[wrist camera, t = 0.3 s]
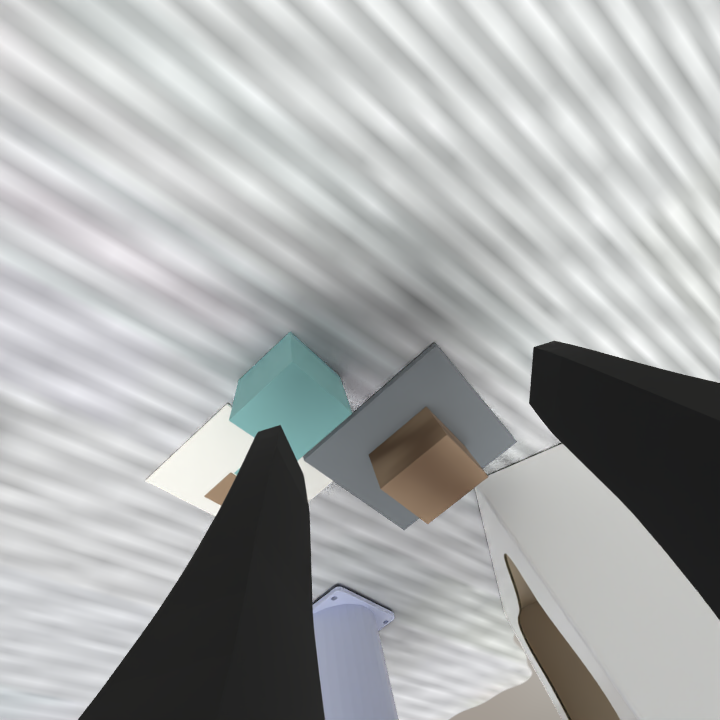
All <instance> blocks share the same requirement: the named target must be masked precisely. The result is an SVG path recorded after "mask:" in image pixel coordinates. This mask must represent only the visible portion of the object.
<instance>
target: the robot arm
mask: <svg viewBox="0 0 720 720" xmlns="http://www.w3.org/2000/svg"><path fill="white" fill-rule="evenodd" d="M529 404H530V405H531V406H532V408H533V409H534V410H535V412H536V413H537V414H538V416H539V417H540V419H541V420H542V421H543V422H544V424H545V425H546V426H547V427H548V428H549V430H550V431H551V432H552V433H553V434H554V435H555V436H556V437H557V438H558V439H559V440H560V441H561V442H562V443H563V444H564V445H565V446H566V447H567V448H568V449H569V450H570V451H571V452H572V453H573V454H574V455H575V456H576V457H577V458H578V459H579V460H580V461H581V462H582V463H583V464H584V465H585V466H586V467H587V468H588V469H589V470H590V471H591V472H592V473H593V474H594V475H595V476H596V477H597V478H598V479H599V480H600V481H601V482H602V483H603V484H604V485H605V486H606V487H607V488H608V489H609V490H610V491H611V492H612V493H613V494H614V495H615V496H616V497H617V498H618V499H619V500H620V501H621V502H622V503H623V504H624V505H625V506H626V507H627V508H628V509H629V510H630V511H631V512H632V513H633V514H634V516H635V517H636V518H637V519H638V520H639V521H640V523H641V524H642V525H643V526H644V527H645V528H646V530H647V531H648V532H649V533H650V534H651V536H652V537H653V538H654V539H655V540H656V541H657V543H658V544H659V545H660V546H661V547H662V548H663V550H664V551H665V552H666V553H667V554H668V556H669V557H670V558H671V559H672V561H673V562H674V563H675V564H676V566H677V567H678V568H679V569H680V570H681V572H682V573H683V574H684V575H685V577H686V578H687V579H688V580H689V582H690V583H691V584H692V585H693V587H694V588H695V589H696V590H697V592H698V593H699V594H700V595H701V597H702V598H703V599H704V601H705V602H706V603H707V604H708V606H709V607H710V608H711V610H712V611H713V612H714V614H715V615H716V616H717V618H718V619H719V620H720V383H717V382H713V381H708V380H704V379H700V378H696V377H691V376H687V375H683V374H679V373H675V372H671V371H667V370H663V369H659V368H656V367H652V366H648V365H644V364H641V363H637V362H633V361H630V360H626V359H622V358H619V357H615V356H612V355H608V354H604V353H601V352H597V351H594V350H590V349H586V348H582V347H578V346H575V345H570V344H566V343H562V342H557V341H552V342H549V343H546V344H543V345H539V346H536V347H534V350H533V362H532V375H531V387H530V400H529ZM394 618H395V616H394V613H393V612H392V611H390V610H388V609H386V608H384V607H382V606H380V605H377V604H375V603H373V602H371V601H369V600H367V599H365V598H363V597H361V596H359V595H357V594H355V593H353V592H351V591H349V590H347V589H345V588H343V587H335V588H334V589H333V590H331V591H330V592H329V593H327V594H326V595H325V596H324V597H322V598H321V599H320V600H319V601H317V602H316V603H315V604H313V605H312V577H311V544H310V517H309V506H308V499H307V492H306V485H305V479H304V474H303V472H302V470H301V468H300V466H299V463H298V461H297V459H296V457H295V455H294V453H293V451H292V448H291V446H290V444H289V442H288V440H287V438H286V436H285V433H284V431H283V429H282V427H281V425H278V426H275V427H272V428H269V429H265V430H262V431H259V432H258V433H257V434H256V436H255V438H254V440H253V442H252V444H251V446H250V448H249V451H248V453H247V455H246V457H245V459H244V461H243V463H242V465H241V467H240V470H239V472H238V474H237V476H236V478H235V480H234V482H233V484H232V486H231V488H230V490H229V492H228V494H227V496H226V498H225V499H224V501H223V503H222V505H221V507H220V509H219V511H218V513H217V515H216V517H215V518H214V520H213V522H212V524H211V525H210V527H209V529H208V531H207V532H206V534H205V536H204V538H203V540H202V541H201V543H200V545H199V547H198V548H197V550H196V552H195V553H194V555H193V557H192V558H191V560H190V562H189V563H188V565H187V567H186V568H185V570H184V572H183V573H182V575H181V576H180V578H179V579H178V581H177V583H176V584H175V586H174V587H173V589H172V590H171V592H170V593H169V595H168V596H167V598H166V599H165V601H164V603H163V604H162V606H161V607H160V609H159V610H158V612H157V613H156V614H155V616H154V617H153V619H152V620H151V622H150V623H149V624H148V626H147V627H146V629H145V630H144V632H143V633H142V634H141V636H140V637H139V638H138V640H137V641H136V643H135V644H134V645H133V647H132V648H131V649H130V651H129V652H128V654H127V655H126V656H125V658H124V659H123V660H122V662H121V663H120V665H119V666H118V667H117V669H116V670H115V671H114V673H113V674H112V676H111V677H110V678H109V680H108V681H107V682H106V684H105V685H104V687H103V688H102V689H101V690H100V692H99V693H98V694H97V696H96V697H95V698H94V700H93V701H92V702H91V704H90V705H89V706H88V707H87V709H86V710H85V711H84V712H83V714H82V715H81V716H80V718H79V719H78V720H399V719H398V715H397V710H396V706H395V701H394V697H393V693H392V688H391V684H390V680H389V675H388V671H387V666H386V662H385V658H384V653H383V649H382V645H381V640H380V636H379V630H380V629H382V628H383V627H385V626H386V625H387V624H389V623H390V622H391V621H393V620H394Z"/></svg>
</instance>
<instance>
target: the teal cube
mask: <svg viewBox="0 0 720 720" xmlns="http://www.w3.org/2000/svg"><path fill="white" fill-rule="evenodd" d="M351 414H352V411H351V408H350V405H349V402H348V399H347V396H346V393H345V390H344V388H343V385H342V382H341V379H340V376H338V375H337V374H336V373H335V372H334V371H333V370H332V369H331V368H330V367H329V366H327V365H326V364H325V363H324V362H323V361H322V360H321V359H320V358H319V357H318V356H316V355H315V354H314V353H313V352H312V351H311V350H310V349H309V348H308V347H307V346H305V345H304V344H303V343H302V342H301V341H300V340H299V339H298V338H297V337H296V336H295V335H293V334H292V333H291V332H289V333H288V334H287V335H286V336H285V337H284V338H283V339H282V340H281V341H280V342H279V343H278V344H277V345H275V346H274V347H273V348H272V349H271V350H270V351H269V352H268V353H267V354H266V355H265V356H264V357H263V358H262V359H261V360H260V361H258V362H257V363H256V364H255V365H254V366H253V367H252V368H251V369H250V370H249V371H248V372H247V373H246V374H245V375H244V376H243V377H242V378H240V379H239V381H238V385H237V389H236V393H235V397H234V402H233V406H232V410H231V414H230V418H229V421H230V422H232V423H233V424H235V425H236V426H238V427H239V428H241V429H242V430H244V431H245V432H247V433H248V434H250V435H251V436H253V437H254V438H255V436H256V434H257V433H258V432H259V431H262V430H265V429H269V428H272V427H275V426H278V425H281V427H282V429H283V431H284V433H285V436H286V438H287V440H288V442H289V444H290V446H291V448H292V451H293V453H294V455H295V457H296V459H297V461H298V460H299V459H300V458H301V457H303V456H304V455H305V454H306V453H307V452H308V451H310V450H311V449H312V448H313V447H314V446H315V445H316V444H318V443H319V442H320V441H321V440H322V439H323V438H324V437H326V436H327V435H328V434H329V433H330V432H331V431H333V430H334V429H335V428H336V427H337V426H338V425H339V424H341V423H342V422H343V421H344V420H345V419H346V418H347V417H349V416H350V415H351Z"/></svg>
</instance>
